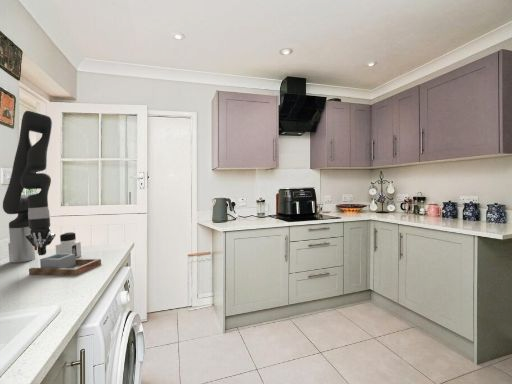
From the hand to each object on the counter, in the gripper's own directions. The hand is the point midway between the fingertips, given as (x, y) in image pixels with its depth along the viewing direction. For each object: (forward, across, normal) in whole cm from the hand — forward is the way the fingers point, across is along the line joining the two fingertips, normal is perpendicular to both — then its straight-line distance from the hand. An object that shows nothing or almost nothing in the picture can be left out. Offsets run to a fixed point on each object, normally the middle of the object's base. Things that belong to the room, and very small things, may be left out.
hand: (42, 254), depth 122 cm
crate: (+7, +8, -1) cm, 11 cm away
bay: (+6, +12, -1) cm, 14 cm away
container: (+6, -1, +16) cm, 18 cm away
